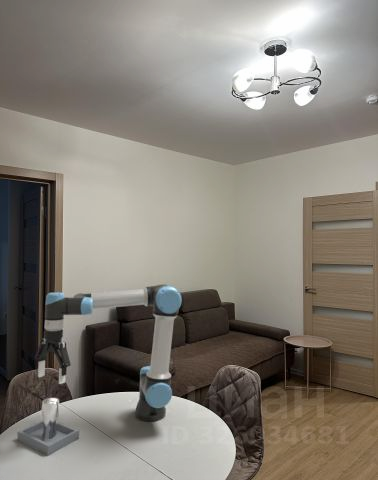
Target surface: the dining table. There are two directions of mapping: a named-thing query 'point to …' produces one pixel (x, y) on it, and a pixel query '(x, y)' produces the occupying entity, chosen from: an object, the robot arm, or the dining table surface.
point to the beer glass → (49, 418)
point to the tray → (33, 439)
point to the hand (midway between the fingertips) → (51, 379)
